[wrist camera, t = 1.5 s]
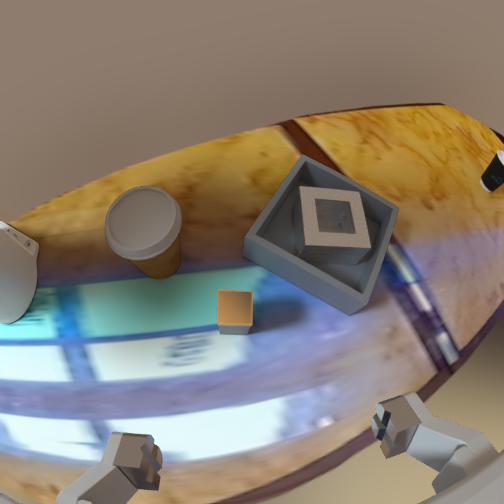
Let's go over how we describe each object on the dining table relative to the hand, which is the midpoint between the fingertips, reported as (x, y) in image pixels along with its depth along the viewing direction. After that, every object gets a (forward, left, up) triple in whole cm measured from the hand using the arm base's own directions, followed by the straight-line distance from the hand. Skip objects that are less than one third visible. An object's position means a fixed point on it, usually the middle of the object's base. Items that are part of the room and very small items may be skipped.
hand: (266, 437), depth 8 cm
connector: (-6, +8, -28) cm, 30 cm away
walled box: (-1, +26, -28) cm, 39 cm away
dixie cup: (+35, +70, -28) cm, 84 cm away
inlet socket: (-1, +26, -28) cm, 39 cm away
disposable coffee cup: (-20, +10, -28) cm, 36 cm away
